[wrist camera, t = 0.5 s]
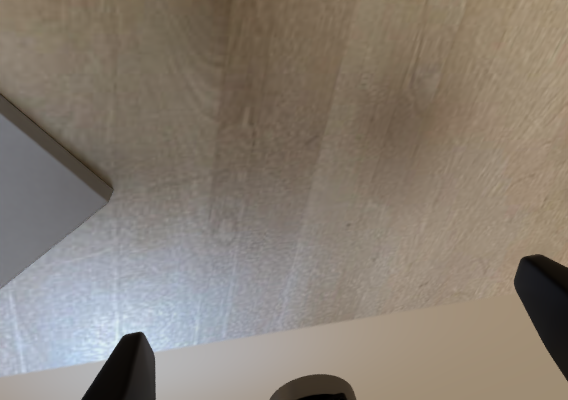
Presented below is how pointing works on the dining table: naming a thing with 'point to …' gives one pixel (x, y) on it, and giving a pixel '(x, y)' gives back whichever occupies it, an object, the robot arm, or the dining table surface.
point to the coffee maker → (39, 192)
